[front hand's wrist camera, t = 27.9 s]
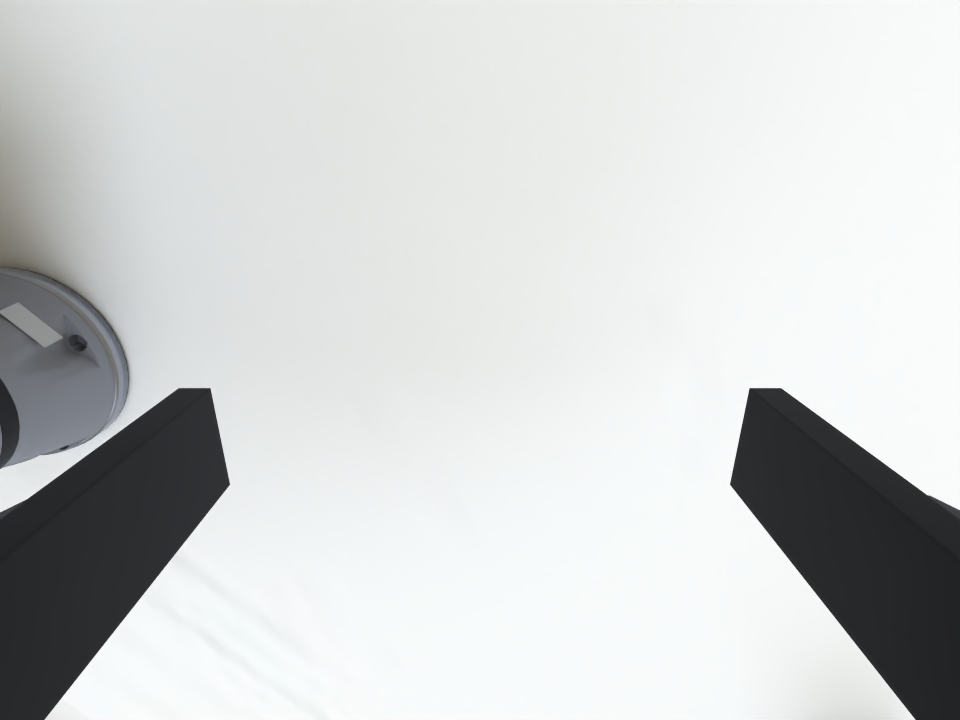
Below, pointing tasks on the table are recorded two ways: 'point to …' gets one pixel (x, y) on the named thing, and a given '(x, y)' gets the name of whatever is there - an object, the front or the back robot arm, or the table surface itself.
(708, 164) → the table surface
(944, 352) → the table surface
